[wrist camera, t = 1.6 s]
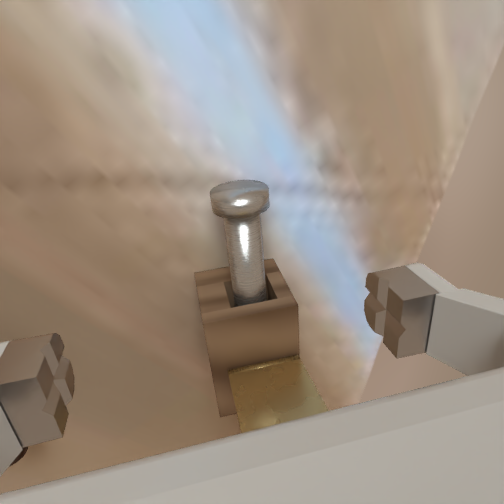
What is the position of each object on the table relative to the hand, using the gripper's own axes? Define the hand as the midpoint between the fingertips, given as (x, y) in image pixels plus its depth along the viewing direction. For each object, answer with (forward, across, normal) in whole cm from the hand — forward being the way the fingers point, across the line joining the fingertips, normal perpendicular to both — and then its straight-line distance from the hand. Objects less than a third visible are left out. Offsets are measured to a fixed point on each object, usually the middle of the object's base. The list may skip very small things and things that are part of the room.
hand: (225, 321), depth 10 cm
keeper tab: (+11, -4, +15) cm, 19 cm away
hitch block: (+21, -3, +15) cm, 26 cm away
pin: (+19, -4, +10) cm, 22 cm away
